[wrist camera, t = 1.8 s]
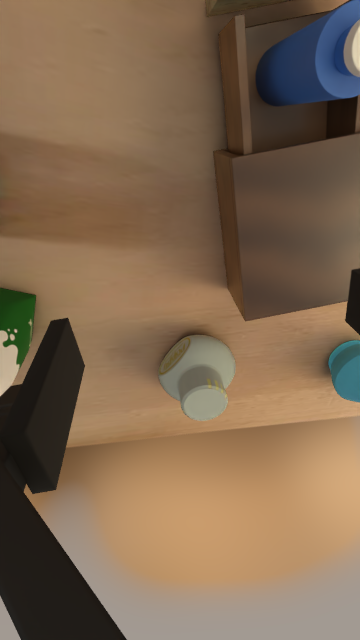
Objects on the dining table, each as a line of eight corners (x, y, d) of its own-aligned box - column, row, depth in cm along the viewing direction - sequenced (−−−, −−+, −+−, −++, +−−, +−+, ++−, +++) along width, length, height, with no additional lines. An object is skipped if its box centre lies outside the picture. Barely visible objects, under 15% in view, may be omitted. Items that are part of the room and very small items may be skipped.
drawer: (198, -71, 28) (214, -123, 22) (348, -100, 28) (404, -160, 22) (223, 184, 38) (238, 195, 32) (333, 162, 38) (369, 169, 32)
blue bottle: (253, 47, 32) (337, -8, 18) (307, 37, 32) (429, -26, 18) (256, 110, 34) (332, 103, 21) (306, 101, 34) (413, 87, 21)
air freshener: (197, 317, 48) (210, 360, 39) (238, 346, 51) (259, 392, 42) (149, 368, 51) (151, 418, 42) (190, 392, 54) (200, 443, 46)
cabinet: (212, 151, 37) (231, 158, 30) (337, 126, 37) (387, 127, 30) (227, 288, 46) (245, 321, 38) (328, 268, 46) (366, 297, 38)
